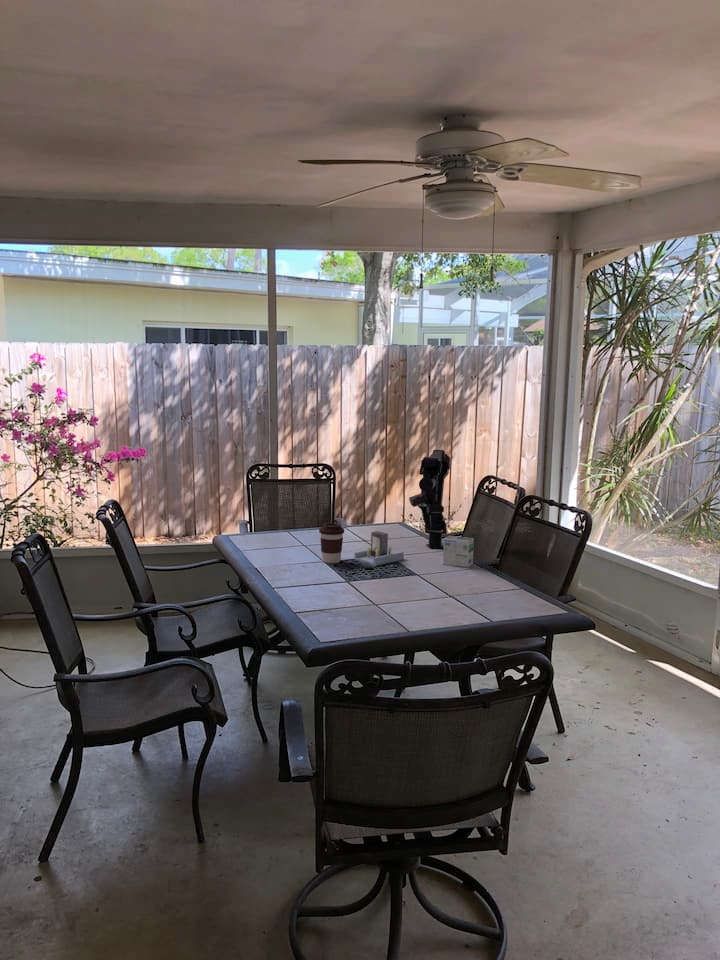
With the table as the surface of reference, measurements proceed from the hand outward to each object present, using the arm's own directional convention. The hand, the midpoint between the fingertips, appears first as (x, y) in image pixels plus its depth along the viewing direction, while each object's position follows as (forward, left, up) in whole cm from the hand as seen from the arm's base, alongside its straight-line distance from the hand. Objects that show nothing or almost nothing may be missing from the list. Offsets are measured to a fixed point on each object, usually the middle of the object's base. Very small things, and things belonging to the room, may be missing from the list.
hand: (429, 525), depth 312 cm
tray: (+2, -21, -13) cm, 25 cm away
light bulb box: (+14, +8, -13) cm, 21 cm away
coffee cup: (+2, -41, -13) cm, 43 cm away
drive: (+2, -21, -12) cm, 25 cm away
